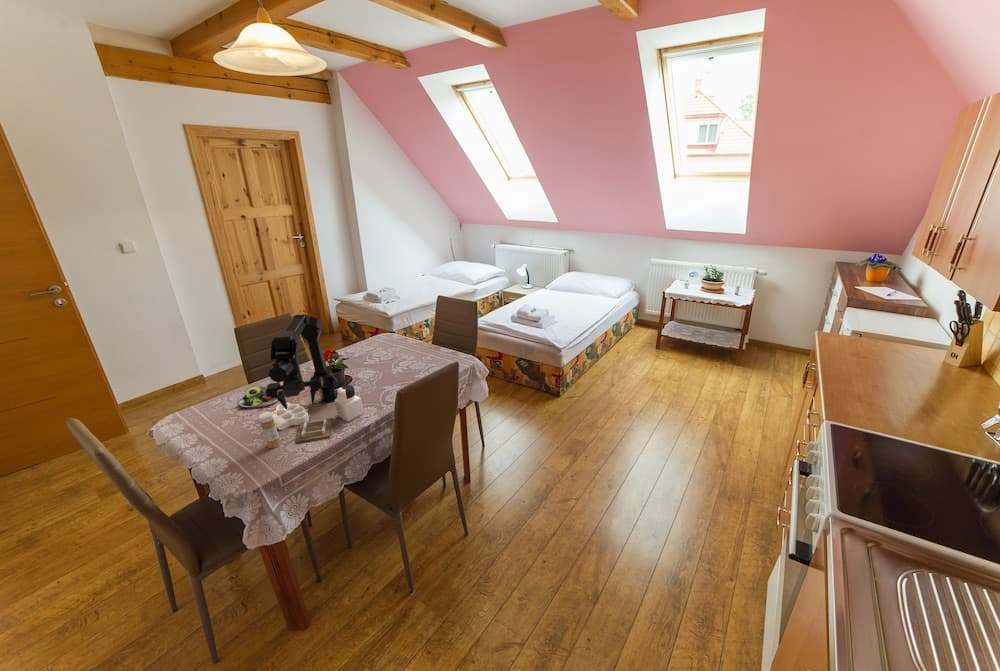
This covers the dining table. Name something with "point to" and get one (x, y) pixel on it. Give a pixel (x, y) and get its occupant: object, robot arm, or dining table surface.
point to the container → (348, 403)
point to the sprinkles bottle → (269, 429)
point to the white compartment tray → (289, 415)
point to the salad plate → (255, 398)
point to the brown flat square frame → (314, 430)
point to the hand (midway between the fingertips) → (299, 406)
